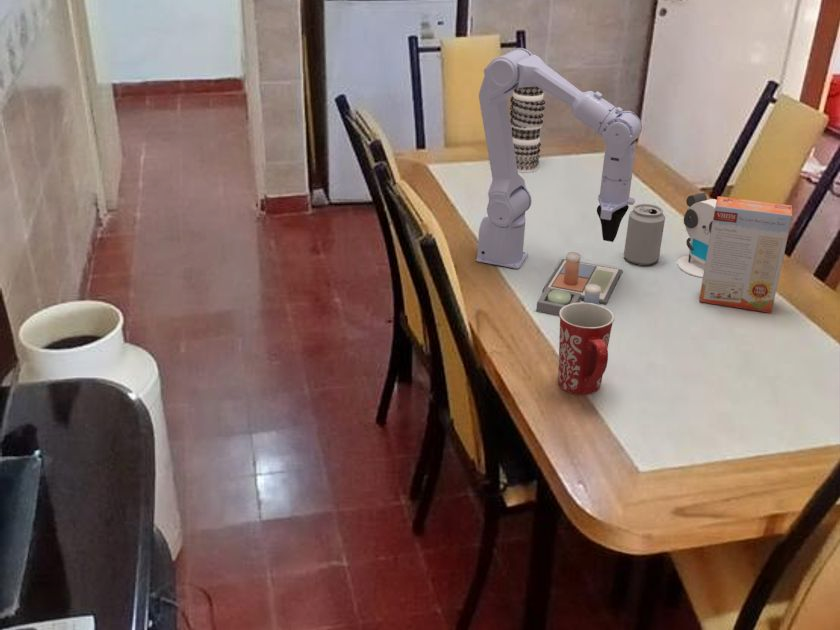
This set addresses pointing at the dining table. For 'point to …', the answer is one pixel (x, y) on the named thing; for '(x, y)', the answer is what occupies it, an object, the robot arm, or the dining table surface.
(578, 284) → the colour zone board
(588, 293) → the slate blue marker
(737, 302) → the cracker box
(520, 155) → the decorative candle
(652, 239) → the can
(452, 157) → the dining table surface
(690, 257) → the panda figurine
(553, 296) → the button
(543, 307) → the button collar
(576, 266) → the terracotta marker
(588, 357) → the mug
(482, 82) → the robot arm
